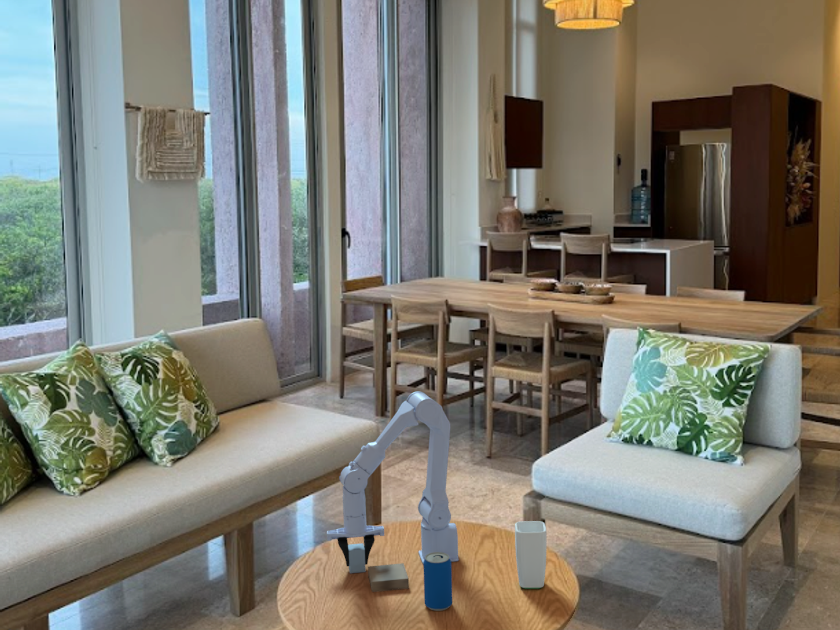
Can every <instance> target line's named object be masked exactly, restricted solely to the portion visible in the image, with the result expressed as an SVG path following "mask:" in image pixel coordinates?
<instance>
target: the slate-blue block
mask: <svg viewBox="0 0 840 630" xmlns="http://www.w3.org/2000/svg"><path fill="white" fill-rule="evenodd" d="M348 557H349V566H348V570H349V574H357V573H366V570H367V569H366V565H365V549H364V542H362V543H353V544H352V543H351V544H348Z"/></svg>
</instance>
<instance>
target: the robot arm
mask: <svg viewBox="0 0 840 630" xmlns="http://www.w3.org/2000/svg"><path fill="white" fill-rule="evenodd" d="M418 421H419V422H421V423H423V424H425V425H426V426H427V428H428V429H429V438H428V439H429V440H428V452H427V453H428V454H427V465H426V466H427V467H426V480H425V487H424V489H423V491H422V496H421V498H420V500H419V502H418V505H417V510H418V513H419V515H420V516H421V517H422V518H421V522H420V534H421V535H420V537H421V539H420V541H421V550H420V549H419V550H418V555H419V557H420V560H421V563H422V564H423V562H424V560H425V556H426V555H427V554H429V553H433V552H442V553H446V554H448V555H449V559H450V560H451V563H452V562H458V561H459V559H460V558H459V540H458V539H459V536H458V528H457V524H456V523H454V522H451V520H452V513H451V511H450V508H449V498H448V495H447V492H446V490H447V476H448V462H449V450H450V440H451V439H450V438H451V437H450V435H451V422H450V421H449V419H448V417H447V415H446V413H445V411H444V410H443V406H442V405H441V404H440V403H438V401H436V400H434V399H432V398H431V397H430V396H428V395H427V394H426V393H425V392H423V391H419V390H418V391H414V392H412V393H410V394H409V395H408V397H407V398H406V400H404V401H403V402H402V403H401V404H400V406H399V408H398V410H397V411H396V413H395V414H394V415H393V417H392V418H391V420H390V421H389V422H388V423H387V425H386V426H385V428H384V429H383V430H382V432H380V434H379V436H378V437H377V438H376V440H374V441H372V442H367V444H366V445H362V446H360V447H361V448H360V450H361V451H360V452H359V453H358V454H357V456H356V457H355V458H354V460H353V461H350V462H348V466H345V467H344V468H343V469H342V470H341V472H340V475H339V476H338V477H339V481H340V483H341V485H342V511H343V513H342V514H343V527H339V528H337V529H331V530H327V531H326V541H327V542H329V541H330V542H331V541H332V540H337V544H338V546H339V549H340V550H341V552H342V555H343V557H344V560H345V564H346V565H345V566H346V567H349V557H348V545H349V542H348V539H351V538H362V537H363V545H364V549H365V566H367V565H368V564H369V563H368V562H369V557H370V554H371V550H372V548H373V546H374V544H375V540H376V539H375V536H380V537H384V536H385V527H384V525H367V509H366V504H367V503H366V494H365V489H366V488H367V486H368V482H369V480H368V479H369V478H370V477H371V475H372V474H373V473H374V472H375V471H376V469H378V467H379V466H380V465H381V463H382V462H383V461H384V460H385V459H386V450H387V449H388V448H389V447H390V446H391V445H392V443H394V441H395V440H396V439H397V438H398V437H400V435H401V434H402V432H404V430H405V429H406V428H410V427H416V426H419V422H418Z"/></svg>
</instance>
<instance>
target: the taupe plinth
mask: <svg viewBox="0 0 840 630" xmlns="http://www.w3.org/2000/svg"><path fill="white" fill-rule="evenodd" d="M367 571H368V572H367V573H368V581H369V585H370V589H371V593H375V592H376V593H377V592H378V593H379V592H388V591H396V590H397V591H399V590H407V589H409V588H410V584H409V582H410V581H409V576H408V574H407V570H406V567H405V564H404V563H403V562H402V563H394V564H393V563H391V564H381V565H380V564H379V565H369V566H367Z"/></svg>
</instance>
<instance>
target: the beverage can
mask: <svg viewBox="0 0 840 630" xmlns="http://www.w3.org/2000/svg"><path fill="white" fill-rule="evenodd" d="M422 565H423V593H424V595H423V596H424V600H423V601H424V606H426V607H427V608H428V609H429V610H431V611H437V612H439V611H440V612H441V611H445V610H447V609H448V608H450V607H451V606H452V605H453V582H452V581H453V580H452V578H453V573H452V562H451V560H450V559H449V555H448V554H446V553H442V552H433V553H429V554H427V555H426V556H425V560H424V562H423V563H422Z"/></svg>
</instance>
